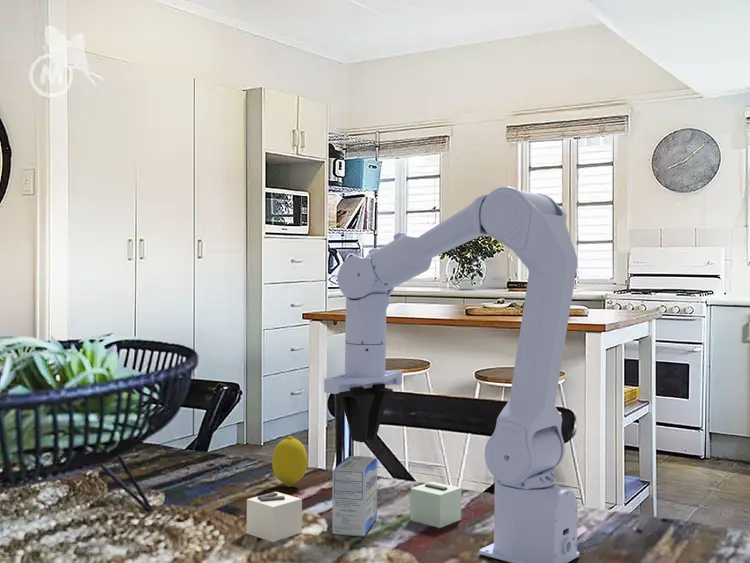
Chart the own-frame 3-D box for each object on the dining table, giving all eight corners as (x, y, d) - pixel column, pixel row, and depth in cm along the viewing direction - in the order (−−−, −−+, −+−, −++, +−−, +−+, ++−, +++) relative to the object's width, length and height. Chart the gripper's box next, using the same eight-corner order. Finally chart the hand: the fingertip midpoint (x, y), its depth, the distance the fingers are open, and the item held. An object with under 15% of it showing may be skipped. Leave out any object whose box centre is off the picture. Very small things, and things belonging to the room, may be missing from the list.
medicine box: (364, 538, 101) (366, 470, 101) (331, 535, 101) (332, 468, 101) (377, 519, 108) (378, 456, 108) (345, 517, 109) (346, 454, 109)
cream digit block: (301, 533, 102) (302, 496, 102) (272, 543, 98) (273, 504, 98) (275, 525, 105) (275, 489, 105) (246, 534, 102) (247, 496, 102)
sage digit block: (460, 520, 109) (461, 485, 109) (439, 528, 105) (440, 492, 105) (431, 513, 112) (432, 479, 112) (410, 520, 108) (410, 486, 108)
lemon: (267, 484, 126) (268, 434, 126) (300, 480, 128) (300, 431, 128) (278, 492, 121) (278, 440, 121) (311, 489, 123) (312, 438, 123)
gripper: (377, 339, 119) (375, 429, 119) (308, 344, 108) (307, 443, 108) (414, 342, 114) (412, 435, 114) (346, 347, 103) (345, 451, 103)
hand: (363, 440), depth 111 cm, fingers closed
